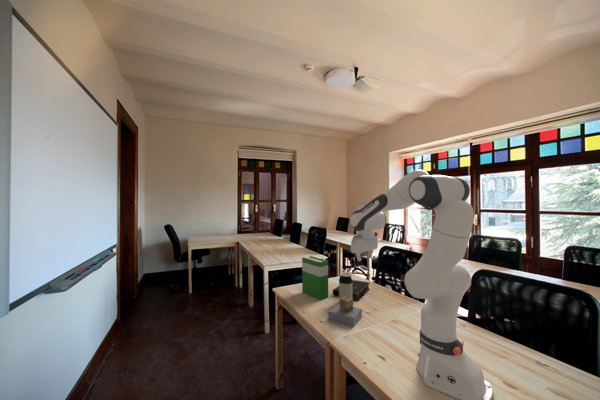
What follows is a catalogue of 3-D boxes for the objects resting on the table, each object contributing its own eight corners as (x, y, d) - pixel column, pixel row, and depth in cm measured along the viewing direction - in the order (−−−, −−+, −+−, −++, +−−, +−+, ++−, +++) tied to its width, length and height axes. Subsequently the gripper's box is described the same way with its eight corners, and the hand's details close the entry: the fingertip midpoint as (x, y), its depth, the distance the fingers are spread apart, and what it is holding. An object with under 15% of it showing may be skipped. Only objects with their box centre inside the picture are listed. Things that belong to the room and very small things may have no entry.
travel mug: (354, 305, 143) (353, 275, 143) (340, 306, 142) (340, 276, 142) (350, 300, 151) (350, 271, 151) (337, 300, 150) (337, 272, 150)
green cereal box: (302, 292, 165) (302, 257, 165) (310, 289, 169) (310, 256, 169) (320, 300, 151) (319, 262, 151) (328, 297, 155) (328, 260, 156)
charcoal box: (361, 318, 129) (361, 309, 129) (353, 328, 119) (353, 318, 119) (337, 311, 136) (337, 303, 136) (328, 320, 126) (328, 311, 126)
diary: (332, 296, 159) (332, 288, 159) (346, 285, 180) (346, 278, 180) (359, 302, 149) (359, 294, 149) (371, 289, 170) (371, 282, 170)
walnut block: (353, 310, 127) (353, 298, 127) (347, 313, 124) (347, 301, 124) (345, 307, 131) (345, 296, 131) (339, 309, 128) (339, 298, 128)
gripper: (357, 236, 120) (357, 263, 120) (379, 232, 133) (380, 257, 133) (347, 235, 125) (347, 261, 125) (370, 231, 138) (370, 255, 138)
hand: (364, 259), depth 129 cm, fingers open, 8 cm apart
